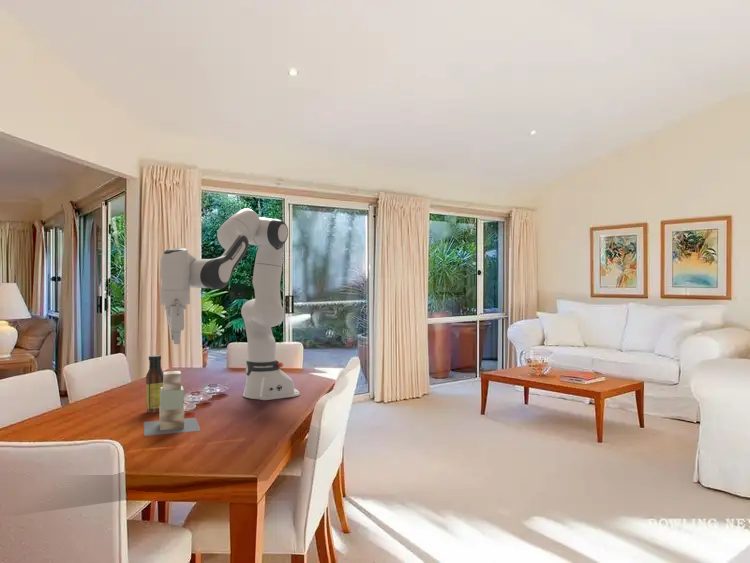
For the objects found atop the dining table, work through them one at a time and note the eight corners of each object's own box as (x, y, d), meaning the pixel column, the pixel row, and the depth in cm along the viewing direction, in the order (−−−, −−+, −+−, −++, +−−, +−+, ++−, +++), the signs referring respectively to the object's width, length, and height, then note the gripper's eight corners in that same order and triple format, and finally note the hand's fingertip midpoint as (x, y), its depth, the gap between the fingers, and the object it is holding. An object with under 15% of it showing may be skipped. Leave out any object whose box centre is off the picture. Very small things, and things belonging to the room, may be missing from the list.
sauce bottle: (169, 410, 192) (169, 355, 192) (156, 414, 186) (157, 357, 186) (154, 408, 194) (155, 353, 194) (141, 412, 188) (142, 356, 188)
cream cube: (179, 386, 174) (179, 370, 174) (180, 389, 169) (181, 373, 169) (163, 387, 172) (163, 371, 172) (163, 390, 167) (164, 374, 167)
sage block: (181, 404, 175) (182, 385, 175) (183, 408, 169) (183, 389, 169) (160, 405, 172) (160, 387, 172) (161, 410, 166) (161, 391, 166)
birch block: (182, 422, 175) (182, 403, 175) (184, 428, 169) (184, 408, 169) (159, 424, 172) (159, 405, 172) (160, 430, 166) (160, 410, 166)
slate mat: (195, 419, 181) (195, 417, 181) (200, 432, 167) (200, 430, 167) (143, 423, 175) (143, 422, 175) (144, 437, 160) (144, 435, 160)
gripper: (189, 300, 164) (189, 345, 164) (183, 297, 183) (183, 337, 183) (166, 300, 161) (167, 346, 162) (163, 297, 180) (163, 338, 180)
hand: (175, 342), depth 173 cm, fingers open, 8 cm apart
